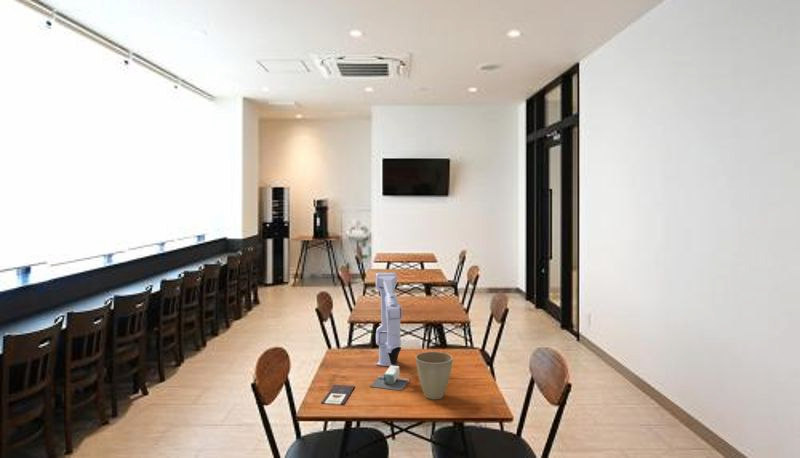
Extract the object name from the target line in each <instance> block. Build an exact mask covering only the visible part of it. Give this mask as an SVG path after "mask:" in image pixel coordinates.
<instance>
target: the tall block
mask: <svg viewBox="0 0 800 458" xmlns="http://www.w3.org/2000/svg"><path fill="white" fill-rule="evenodd" d="M383 376H384V384H392V385H393V384H394V382H395V381H396V379H397V378H399V376H400V366H399V365H393V366H388V368H387V370H386V372H384V374H383Z"/></svg>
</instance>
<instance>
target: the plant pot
mask: <svg viewBox="0 0 800 458" xmlns="http://www.w3.org/2000/svg"><path fill="white" fill-rule="evenodd" d="M453 359H454V358H453V356H452V355H451V354H449V353H446V352H441V351H425V352H420V353H418V354H416V355H415V363H416V369H417V375H418V379H419V383H420V386H421V389H422V393H423V395H424V397H425V398H426V399H429V400H439V399H442V398H444V395H445V393H446V390H447V387H448V383H449V379H450V376H451V372H452V366H453V361H454V360H453Z"/></svg>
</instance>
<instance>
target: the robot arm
mask: <svg viewBox="0 0 800 458" xmlns="http://www.w3.org/2000/svg"><path fill="white" fill-rule="evenodd" d="M397 283H398V276H397V273H396V272H377V273H375V288H376V291H379V294H380V313H381V314H380V315H381V316H380V317H381V318H380V319H381V325H379V326H378V327H377V328H376V330H375V331H376V332H375V342H376V345H377V346H378V362H377V363H376V364H375V365H376V366H383V367H390V366H397V363H398V359H399V355H400V352H401V350H402V347H401V344H402V339H401V320H402V316H403V312H402V311H403V310H402V307H401V305H400V304H399V301H398V300H399V299H398V296H397V295H396V294H395V291H394V290H395V288H396V287H397V286H396V285H398V284H397Z"/></svg>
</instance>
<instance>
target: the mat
mask: <svg viewBox="0 0 800 458" xmlns="http://www.w3.org/2000/svg"><path fill="white" fill-rule="evenodd" d="M408 383H409V382H400V381H395V382H394V384H393V385H392V384H384V380H383V379H376V380H374V381H373V383H371V385H370V386H369V388H376V389H385V390H393V391H401V392H402V391H403V390H404V389H405V387H406V386H407V385H408Z"/></svg>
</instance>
